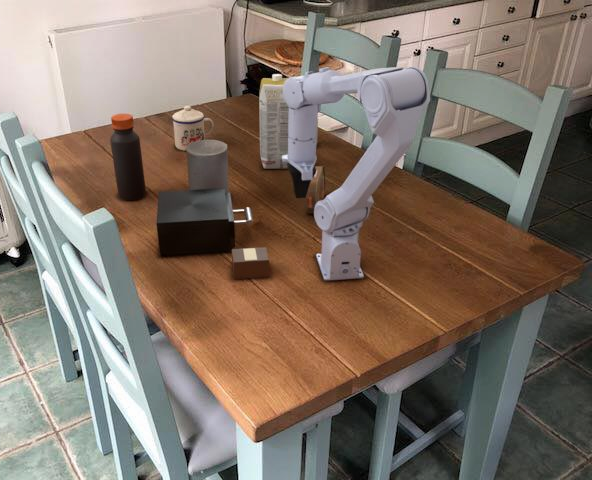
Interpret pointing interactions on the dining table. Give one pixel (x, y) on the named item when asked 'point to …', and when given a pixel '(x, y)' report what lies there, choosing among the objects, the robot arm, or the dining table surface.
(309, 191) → the tin
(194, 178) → the pillar candle
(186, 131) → the teacup with lid
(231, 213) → the drawer
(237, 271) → the packet
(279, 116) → the juice carton
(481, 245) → the dining table surface
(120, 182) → the vinegar
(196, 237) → the black box
